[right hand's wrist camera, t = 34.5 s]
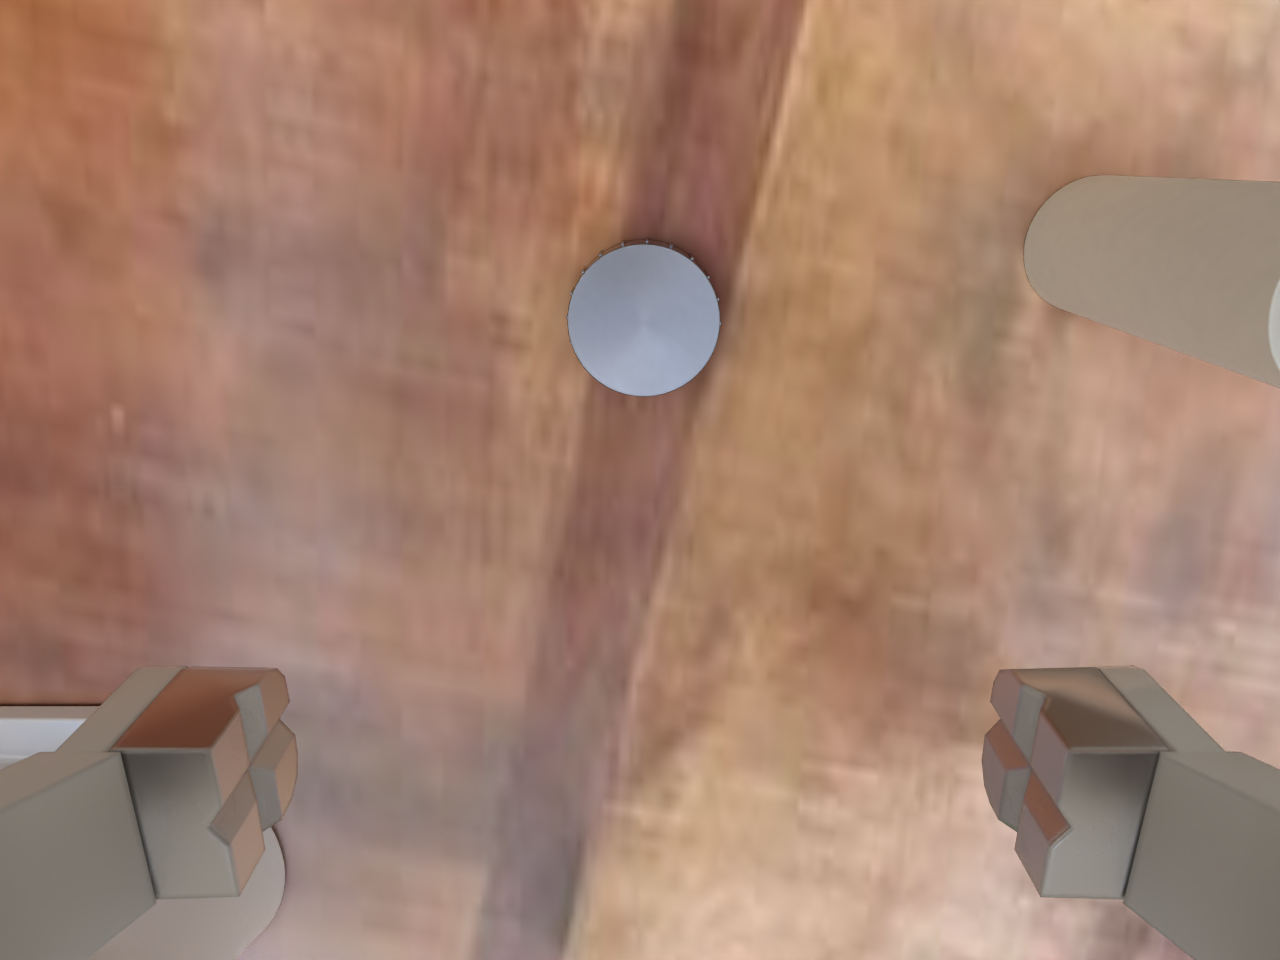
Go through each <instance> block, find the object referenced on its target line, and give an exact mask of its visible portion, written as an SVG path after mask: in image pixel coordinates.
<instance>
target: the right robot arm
mask: <svg viewBox="0 0 1280 960" xmlns="http://www.w3.org/2000/svg"><path fill="white" fill-rule="evenodd" d="M289 702H290V700H289V695H288V690H287V685H286V680H285V676H284V675H283V674H282V673H281V672H280V671H279V670H278V669H277V668H246V667H196V666H192V667H187V666H148V667H144V668H139V669H136V670H135V671H134V672H133V673H132V674H131V675H130V676H129V677H128V678H127V679H126V680H125V681H124V682H123V683H122V684H121V685H120V686H119V687H118V688H117V689H116V690H115V691H114V692H113V693H112V694H111V695H110V696H109V697H108V698H107V699H106V700H105V701H104V702H103V703H102V704H101V705H100V706H0V960H237V959H238V957H239V956H240V955H241V954H242V953H243V952H244V951H245V949H246V948H247V947H248V946H249V945H250V944H251V943H252V942H253V941H254V940H255V939H256V938H257V937H258V936H259V935H260V934H261V933H262V932H263V931H264V930H265V929H266V928H267V926H268V925H269V924H270V922H271V921H272V920H273V918H274V916H275V914H276V913H277V911H278V908H279V906H280V904H281V900H282V897H283V893H284V887H285V866H284V859H283V855H282V851H281V848H280V845H279V842H278V840H277V838H276V835H275V833H274V831H273V829H272V827H271V826H273V825H274V824H276V823H277V822H279V821H280V820H282V818H283V816H284V814H285V812H286V810H287V808H288V806H289V804H290V802H291V800H292V796H293V791H294V787H295V783H296V779H297V771H298V751H297V744H296V737H295V734H294V733H293V732H292V731H291V730H290V729H289V728H288V727H287V726H286V725H285V724H284V723H283V722H282V721H281V720H280V719H279V718H280V716H281V715H282V713H283V712H284V710H285V708H286V707H287V705H288V704H289ZM990 702H991V704H992V705H993V707H994V708H995V710H996V712H997V713H998V715H999V716H1000V718H1001V719H1000V720H999V721H998V722H997V723H996V724H995V725H994V726H993V727H992V728H991V729H990V730H989V731H988V732H987V733H986V734H985V738H984V746H983V754H982V767H983V778H984V786H985V789H986V792H987V795H988V799H989V802H990V804H991V806H992V808H993V810H994V812H995V814H996V816H997V818H998V820H1000V821H1001V822H1003V823H1004V824H1006V825H1007V826H1009V827H1010V828H1012V829H1013V830H1015V831H1016V832H1017V838H1016V844H1015V851H1016V853H1017V855H1018V857H1019V858H1020V860H1021V862H1022V864H1023V866H1024V868H1025V869H1026V871H1027V873H1028V875H1029V877H1030V878H1031V880H1032V882H1033V884H1034V886H1035V888H1036V889H1037V891H1038V893H1039V895H1040V897H1055V898H1091V899H1124V902H1123V903H1124V904H1125V905H1126V906H1127V907H1129V908H1130V909H1131V910H1132V911H1134V912H1135V913H1136V914H1137V915H1139V916H1140V917H1141V918H1143V919H1144V920H1145V921H1146V922H1148V923H1149V924H1150V925H1151V926H1153V927H1154V928H1155V929H1156V930H1158V931H1159V932H1160V933H1161V934H1163V935H1164V936H1165V937H1166V938H1168V939H1169V940H1170V941H1171V942H1173V943H1174V944H1175V945H1176V946H1178V947H1179V948H1180V949H1181V950H1183V951H1184V952H1185V953H1186V954H1188V955H1189V956H1190V957H1192V958H1193V959H1194V960H1280V770H1279V769H1277V768H1275V767H1273V766H1270V765H1268V764H1266V763H1264V762H1262V761H1259V760H1257V759H1255V758H1253V757H1251V756H1248V755H1246V754H1244V753H1242V752H1225V751H1224V750H1223V749H1222V748H1221V747H1220V746H1219V745H1218V744H1217V743H1216V742H1215V740H1214V739H1213V738H1212V737H1211V736H1210V735H1209V734H1208V733H1207V732H1206V731H1205V730H1204V729H1203V728H1202V727H1201V726H1200V725H1199V724H1198V723H1197V722H1196V721H1195V720H1194V719H1193V718H1192V717H1191V716H1190V715H1189V714H1188V713H1187V712H1186V711H1185V710H1184V709H1183V708H1182V707H1181V706H1180V705H1179V704H1178V703H1177V702H1176V701H1175V700H1174V699H1173V698H1172V697H1171V696H1170V695H1169V694H1168V693H1167V692H1166V691H1165V690H1164V689H1163V688H1162V687H1161V686H1160V685H1159V684H1158V683H1157V682H1156V681H1155V680H1154V679H1153V678H1152V677H1151V676H1150V675H1149V674H1148V673H1147V672H1146V671H1145V670H1143V669H1141V668H1138V667H1135V666H1133V665H1131V666H1105V667H1081V668H1042V669H1005V670H999V672H998V674H997V676H996V678H995V680H994V683H993V688H992V694H991V700H990Z"/></svg>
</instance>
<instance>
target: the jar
mask: <svg viewBox="0 0 1280 960" xmlns="http://www.w3.org/2000/svg"><path fill="white" fill-rule="evenodd" d="M1024 265H1025V270H1026V274H1027V277H1028V279H1029V282H1030V284H1031V285H1032V287H1033V288H1034V290H1035V291H1036V292H1037V294H1038V295H1039V296H1040V297H1041V298H1042V299H1044V300H1045V301H1046V302H1047V303H1049V304H1051V305H1052V306H1055V307H1057V308H1059V309H1062V310H1065V311H1067V312H1070V313H1073V314H1076V315H1079V316H1081V317H1084V318H1087V319H1090V320H1092V321H1095V322H1098V323H1101V324H1103V325H1106V326H1109V327H1112V328H1114V329H1117V330H1120V331H1123V332H1125V333H1128V334H1131V335H1134V336H1137V337H1139V338H1142V339H1145V340H1148V341H1150V342H1153V343H1156V344H1159V345H1161V346H1164V347H1167V348H1170V349H1172V350H1175V351H1178V352H1181V353H1183V354H1186V355H1189V356H1192V357H1194V358H1197V359H1200V360H1203V361H1206V362H1208V363H1211V364H1214V365H1217V366H1219V367H1222V368H1225V369H1228V370H1230V371H1233V372H1236V373H1239V374H1241V375H1244V376H1247V377H1250V378H1252V379H1255V380H1258V381H1261V382H1264V383H1266V384H1269V385H1272V386H1275V387H1277V388H1280V182H1269V181H1243V180H1218V179H1193V178H1168V177H1142V176H1117V175H1095V176H1089V177H1085V178H1081V179H1078V180H1076V181H1074V182H1071V183H1069V184H1067V185H1066V186H1064V187H1062V188H1061V189H1059V190H1058V191H1057V192H1055V193H1054V194H1053V195H1052V196H1051V197H1050V198H1049V199H1048V200H1047V201H1046V202H1045V203H1044V204H1043V205H1042V207H1041V208H1040V209H1039V211H1038V212H1037V214H1036V215H1035V217H1034V219H1033V221H1032V222H1031V224H1030V227H1029V230H1028V232H1027V236H1026V240H1025V245H1024Z"/></svg>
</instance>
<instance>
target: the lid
mask: <svg viewBox="0 0 1280 960" xmlns="http://www.w3.org/2000/svg"><path fill="white" fill-rule="evenodd" d="M581 273H582V275H581V277H580V278H579V280H578V282H577V284H576V286H575V288H574V287H573V289H572V291H571V293H570V295H572V296H571V300H570V303H569V309H568V314H567V316H566V319H568V333H569V337H570V343H571V345H572V347H573V350H574V352H575V354H576V356H577V358H578V360H579V361H580V363H581V364H582V366H583V367H584V368H585V370H586V371H587V372H588V373H589V374H590V375H591V376H592V377H593V378H595V379H596V380H597V381H598V382H599V383H601V384H603V385H604V386H606V387H607V388H610V389H612V390H614V391H616V392H619V393H622V394H626V395H631V396H641V397H647V396H657V395H661V394H665V393H668V392H671V391H674V390H676V389H678V388H680V387H682V386H683V385H685V384H686V383H688V382H689V381H691V380H692V379H693V378H694V377H695V376H697V375H698V374H699V372H700V371H701V370H702V369H703V368H704V367H705V365H706V364H707V362H708V361H709V359H710V357H711V356H712V354H713V352H714V349H715V348H716V344H717V341H718V336H719V332H720V325H721V321H720V309H719V304H718V301H719V297H718V296H717V294H716V293H715V291H714V289H713V287H712V285H711V282H710V281H709V278H710V277H709V275H708V273H707V272H704V271H703V269H702V268H701V267H700V266H699V265H698V263H697V262H696V261H695V260H694V258H693V256H692V255H691V254H689V255H688V254H687V253H685V252H684V251H682V250H681V249H679V248H677V247H675V246H673V245H672V243H671V242H669V244H667V243H664V242H660V241H655V240H648V238H647V237H646V238H645V240H643V239H642V240H632V241H627V242H625V241H624V240H623V241H622V242H621V243H620V244H618V245H615V246H613V247H611V248H609V249H607V250H605V251H604V252H603V250H602V251H600V253H599V255H598V256H597V257H596V258H595V259H594V260H593V261H592V262H591V263H590V264H589V265H588V266H587V268H586V267H584V268H583V270H582V272H581Z"/></svg>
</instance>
